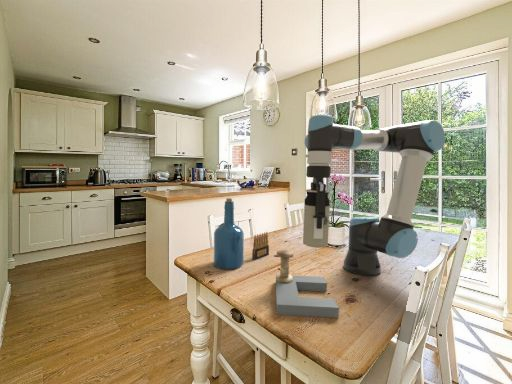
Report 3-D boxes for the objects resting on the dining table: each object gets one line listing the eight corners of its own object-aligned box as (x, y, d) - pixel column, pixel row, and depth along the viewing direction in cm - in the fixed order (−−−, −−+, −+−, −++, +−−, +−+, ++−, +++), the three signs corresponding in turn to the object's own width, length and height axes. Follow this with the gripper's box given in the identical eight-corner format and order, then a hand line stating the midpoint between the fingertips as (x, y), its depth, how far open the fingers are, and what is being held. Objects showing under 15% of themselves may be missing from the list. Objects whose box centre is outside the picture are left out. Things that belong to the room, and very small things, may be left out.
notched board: (323, 284, 97) (323, 276, 97) (338, 317, 75) (338, 307, 75) (275, 282, 98) (275, 274, 98) (276, 314, 76) (276, 304, 76)
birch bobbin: (291, 276, 96) (292, 250, 96) (293, 283, 90) (294, 255, 90) (275, 275, 97) (276, 249, 96) (276, 282, 91) (276, 254, 90)
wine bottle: (248, 267, 113) (249, 199, 110) (220, 272, 106) (221, 200, 104) (234, 257, 124) (235, 196, 122) (208, 262, 118) (209, 197, 115)
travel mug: (300, 241, 88) (302, 188, 87) (323, 241, 89) (325, 189, 87) (306, 248, 81) (308, 190, 79) (331, 248, 81) (334, 191, 80)
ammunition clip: (266, 254, 131) (266, 231, 130) (268, 255, 130) (269, 231, 129) (252, 259, 123) (252, 234, 122) (254, 260, 122) (255, 235, 121)
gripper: (303, 165, 93) (300, 227, 95) (311, 164, 72) (308, 243, 74) (324, 166, 93) (321, 228, 95) (338, 164, 72) (334, 244, 74)
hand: (315, 234), depth 84 cm, fingers closed on travel mug, 8 cm apart
